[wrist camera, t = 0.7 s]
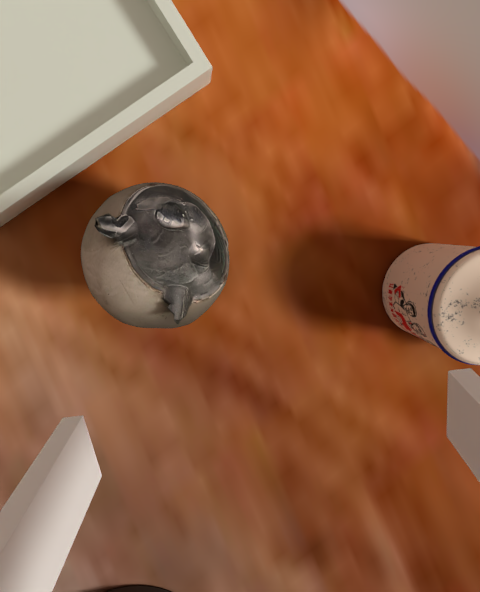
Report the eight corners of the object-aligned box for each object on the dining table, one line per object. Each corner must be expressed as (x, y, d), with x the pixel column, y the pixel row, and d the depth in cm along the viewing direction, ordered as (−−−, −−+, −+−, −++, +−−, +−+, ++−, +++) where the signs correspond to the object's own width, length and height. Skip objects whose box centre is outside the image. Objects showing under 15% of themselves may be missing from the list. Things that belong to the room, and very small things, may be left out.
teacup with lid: (358, 286, 39) (429, 312, 27) (432, 219, 38) (535, 218, 27) (432, 375, 41) (525, 433, 30) (503, 312, 41) (623, 347, 29)
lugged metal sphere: (243, 231, 37) (139, 164, 35) (273, 237, 25) (117, 136, 23) (184, 327, 38) (78, 268, 35) (186, 376, 26) (28, 293, 24)
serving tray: (-12, 235, 34) (-35, 236, 31) (-169, 41, 31) (-214, 18, 27) (210, 82, 34) (212, 67, 31) (78, -129, 31) (64, -173, 27)
